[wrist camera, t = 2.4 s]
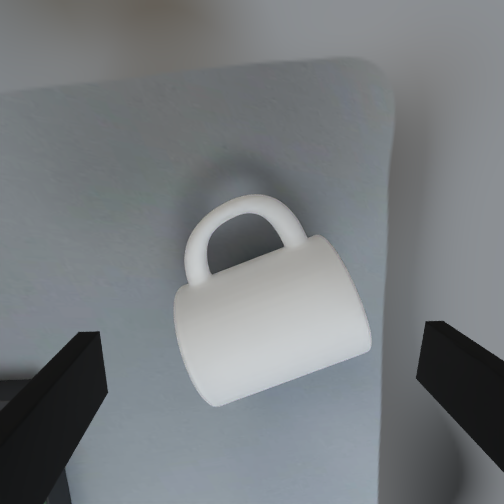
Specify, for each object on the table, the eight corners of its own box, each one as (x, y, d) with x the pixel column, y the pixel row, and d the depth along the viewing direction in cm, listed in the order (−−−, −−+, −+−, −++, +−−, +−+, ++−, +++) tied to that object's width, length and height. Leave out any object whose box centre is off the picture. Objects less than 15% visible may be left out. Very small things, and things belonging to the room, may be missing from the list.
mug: (337, 314, 24) (387, 379, 16) (224, 355, 24) (220, 440, 16) (290, 172, 21) (324, 169, 13) (162, 223, 21) (120, 248, 13)
